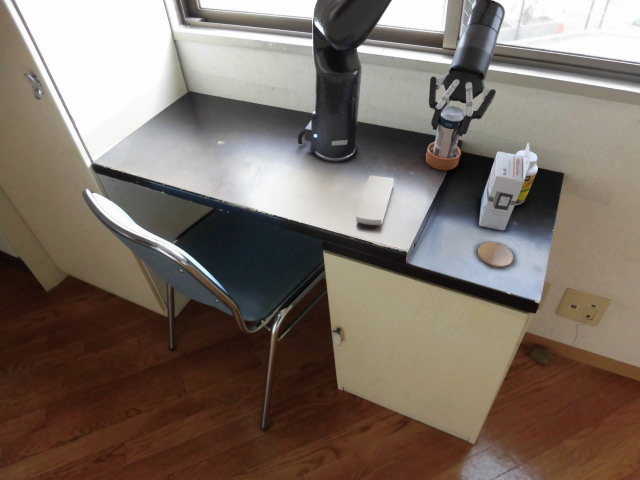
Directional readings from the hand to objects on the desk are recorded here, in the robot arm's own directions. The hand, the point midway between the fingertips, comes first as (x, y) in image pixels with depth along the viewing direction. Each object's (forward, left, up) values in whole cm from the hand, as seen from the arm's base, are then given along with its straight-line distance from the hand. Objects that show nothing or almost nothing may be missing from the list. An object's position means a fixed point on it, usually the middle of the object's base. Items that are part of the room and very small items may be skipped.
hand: (447, 131), depth 98 cm
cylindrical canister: (0, +2, -8) cm, 9 cm away
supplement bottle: (+16, -6, -9) cm, 19 cm away
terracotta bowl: (0, +2, -9) cm, 9 cm away
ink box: (+13, -13, -9) cm, 20 cm away
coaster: (+14, -24, -9) cm, 29 cm away
